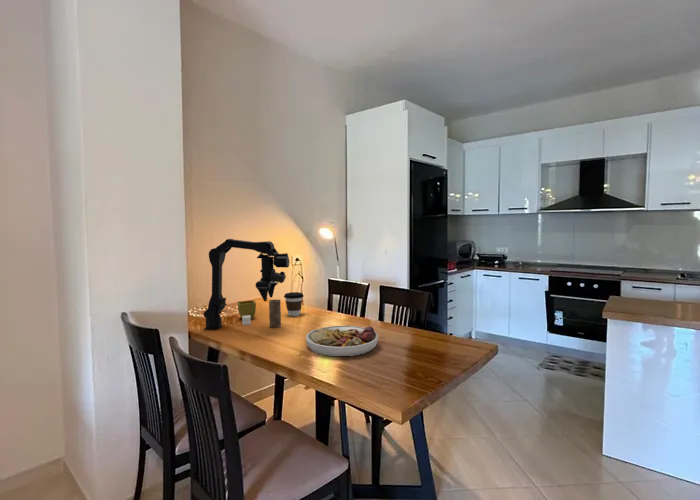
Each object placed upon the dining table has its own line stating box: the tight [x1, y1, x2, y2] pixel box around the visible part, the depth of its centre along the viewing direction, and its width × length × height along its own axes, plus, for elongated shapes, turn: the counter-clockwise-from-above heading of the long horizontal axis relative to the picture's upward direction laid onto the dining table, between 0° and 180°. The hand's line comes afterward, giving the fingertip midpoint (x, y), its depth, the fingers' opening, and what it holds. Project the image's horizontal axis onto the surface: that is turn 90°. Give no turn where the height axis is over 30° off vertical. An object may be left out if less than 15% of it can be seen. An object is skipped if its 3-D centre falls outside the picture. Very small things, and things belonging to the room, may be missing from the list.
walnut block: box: [268, 299, 282, 329], centre depth 189 cm, size 5×5×13 cm
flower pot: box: [236, 299, 257, 320], centre depth 205 cm, size 9×9×9 cm
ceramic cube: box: [241, 315, 252, 326], centre depth 194 cm, size 4×4×4 cm
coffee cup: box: [283, 291, 304, 317], centre depth 212 cm, size 11×11×12 cm
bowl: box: [305, 325, 379, 357], centre depth 158 cm, size 30×30×8 cm
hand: (268, 299), depth 184 cm, fingers open, 9 cm apart
